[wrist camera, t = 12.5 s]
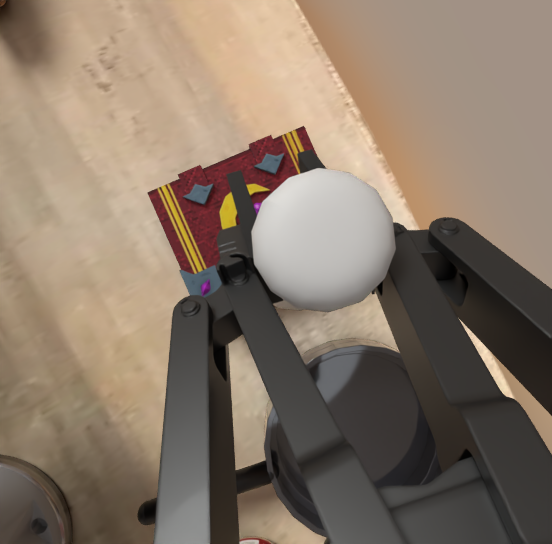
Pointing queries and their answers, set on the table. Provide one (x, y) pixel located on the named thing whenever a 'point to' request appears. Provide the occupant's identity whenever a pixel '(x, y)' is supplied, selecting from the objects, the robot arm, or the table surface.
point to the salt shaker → (323, 240)
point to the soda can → (254, 540)
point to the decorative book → (220, 203)
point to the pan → (359, 422)
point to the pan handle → (244, 482)
